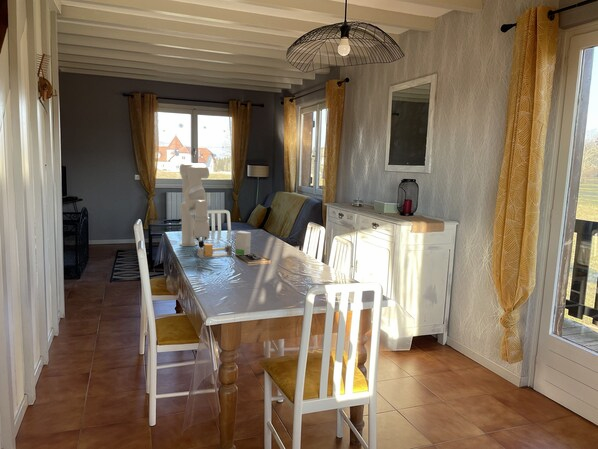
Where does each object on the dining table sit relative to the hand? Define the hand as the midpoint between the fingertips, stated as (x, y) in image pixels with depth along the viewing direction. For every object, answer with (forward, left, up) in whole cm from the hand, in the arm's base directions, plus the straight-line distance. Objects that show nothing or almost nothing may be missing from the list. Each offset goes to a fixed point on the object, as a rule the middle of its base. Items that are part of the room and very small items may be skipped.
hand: (201, 247), depth 288 cm
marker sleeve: (0, +4, -6) cm, 7 cm away
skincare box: (+3, +27, -6) cm, 28 cm away
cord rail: (0, +9, -6) cm, 11 cm away
